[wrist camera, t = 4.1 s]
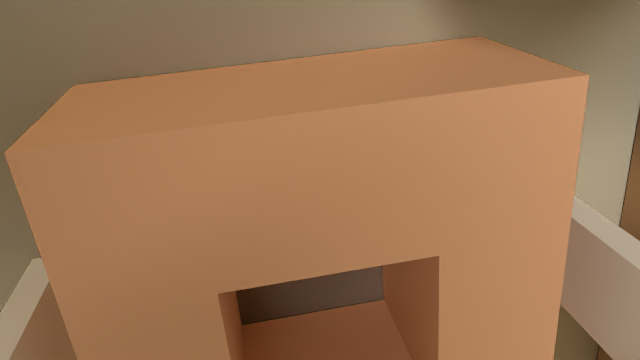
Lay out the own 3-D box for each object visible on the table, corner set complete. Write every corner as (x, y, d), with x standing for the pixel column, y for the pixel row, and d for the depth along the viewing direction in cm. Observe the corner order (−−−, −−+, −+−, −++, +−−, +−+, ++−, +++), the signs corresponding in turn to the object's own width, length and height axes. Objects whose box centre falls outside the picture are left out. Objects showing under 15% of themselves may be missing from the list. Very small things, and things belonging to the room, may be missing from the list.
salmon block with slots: (73, 85, 12) (4, 153, 8) (479, 35, 14) (589, 75, 10) (181, 466, 18) (170, 619, 14) (464, 406, 19) (531, 531, 15)
